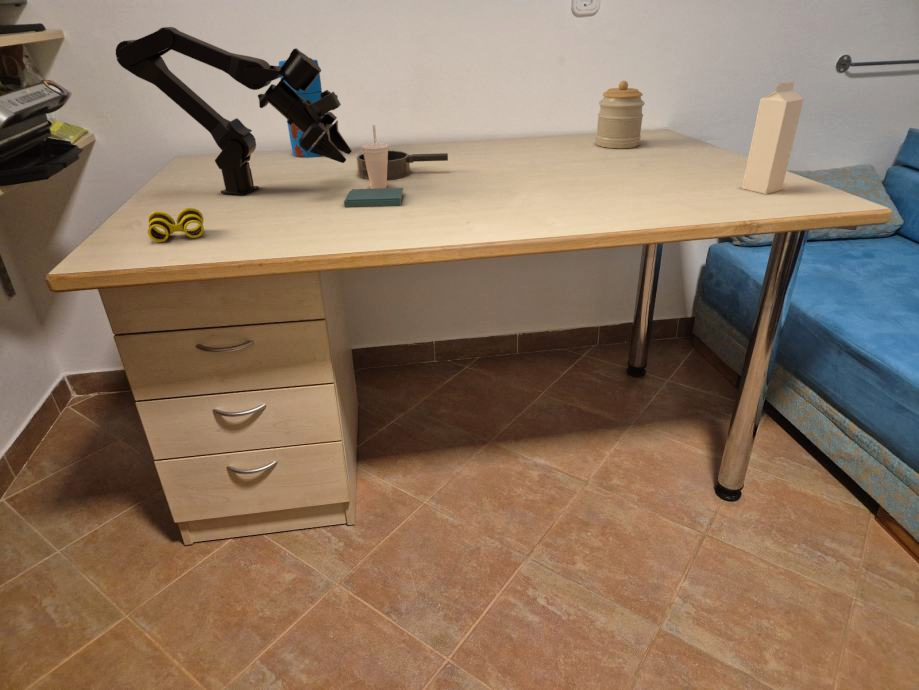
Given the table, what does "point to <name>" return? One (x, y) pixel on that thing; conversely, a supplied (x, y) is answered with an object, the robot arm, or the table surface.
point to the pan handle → (428, 157)
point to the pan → (388, 165)
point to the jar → (620, 117)
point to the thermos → (295, 134)
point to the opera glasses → (169, 224)
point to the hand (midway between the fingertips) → (347, 157)
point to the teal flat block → (374, 197)
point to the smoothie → (376, 162)
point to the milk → (773, 139)
